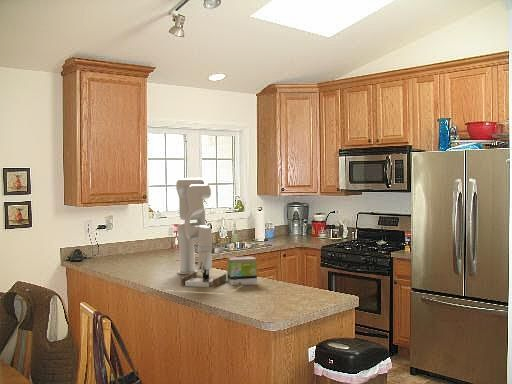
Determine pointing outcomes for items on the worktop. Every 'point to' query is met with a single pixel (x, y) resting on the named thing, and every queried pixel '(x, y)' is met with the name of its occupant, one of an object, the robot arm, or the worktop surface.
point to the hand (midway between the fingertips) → (206, 281)
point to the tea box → (242, 270)
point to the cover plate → (199, 282)
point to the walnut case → (216, 280)
